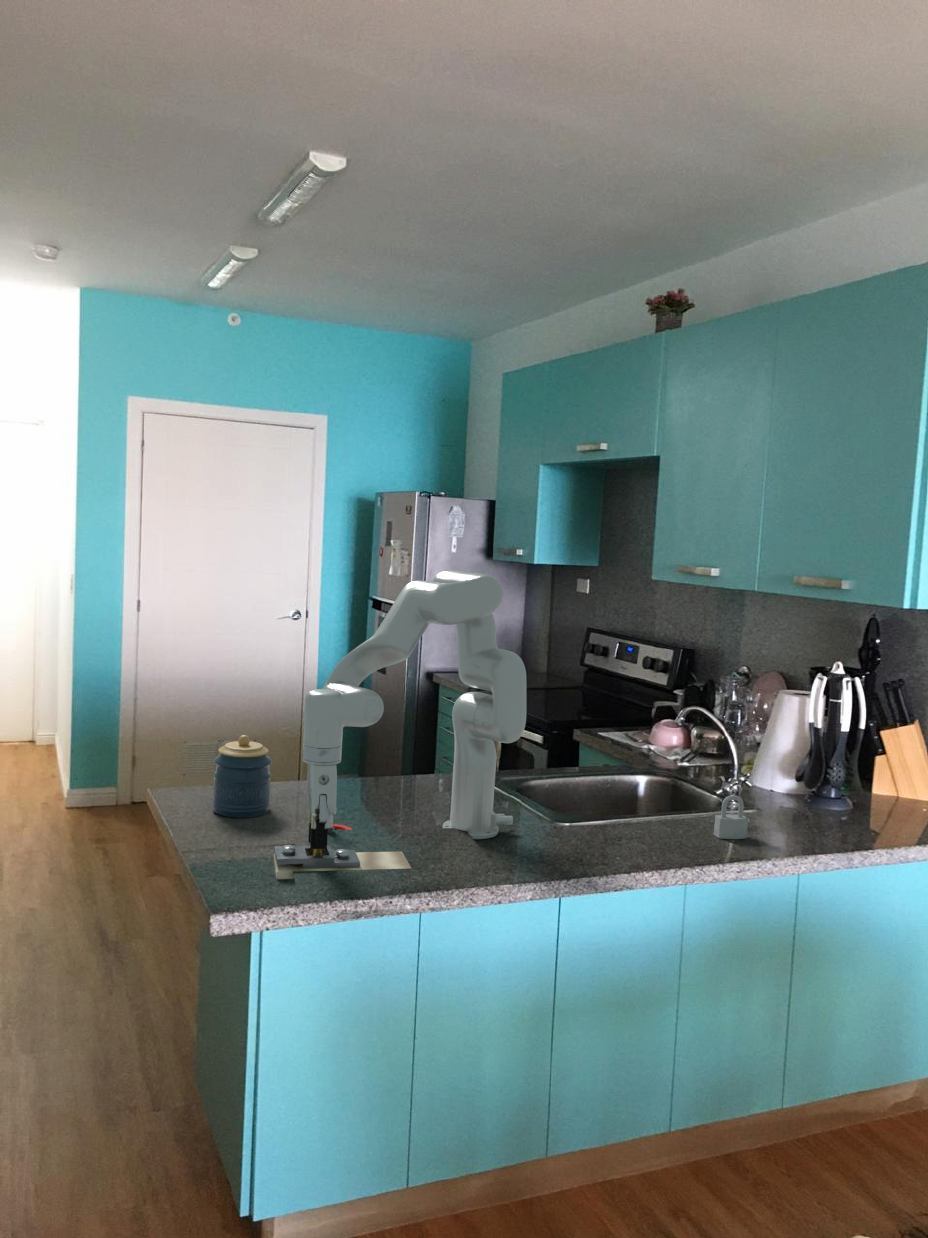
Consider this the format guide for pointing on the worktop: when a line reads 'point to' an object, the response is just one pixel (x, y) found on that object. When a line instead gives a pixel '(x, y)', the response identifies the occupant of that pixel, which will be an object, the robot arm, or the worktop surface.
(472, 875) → the worktop surface
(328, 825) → the tow hook
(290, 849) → the riveted slotted plate
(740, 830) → the padlock
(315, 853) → the pin
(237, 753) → the canister
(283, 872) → the jig board
